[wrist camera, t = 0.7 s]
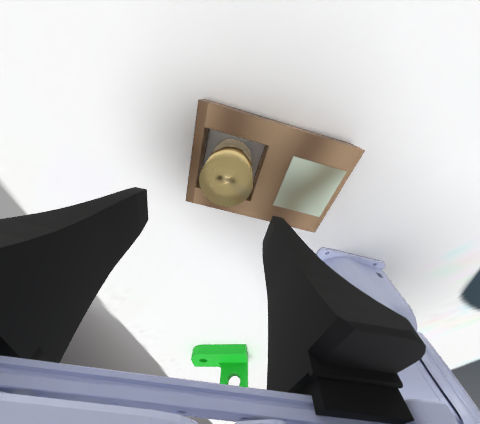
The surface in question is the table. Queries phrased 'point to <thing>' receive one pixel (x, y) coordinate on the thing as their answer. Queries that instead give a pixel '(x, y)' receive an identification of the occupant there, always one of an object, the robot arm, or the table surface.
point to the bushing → (227, 174)
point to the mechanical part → (224, 360)
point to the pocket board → (277, 166)
